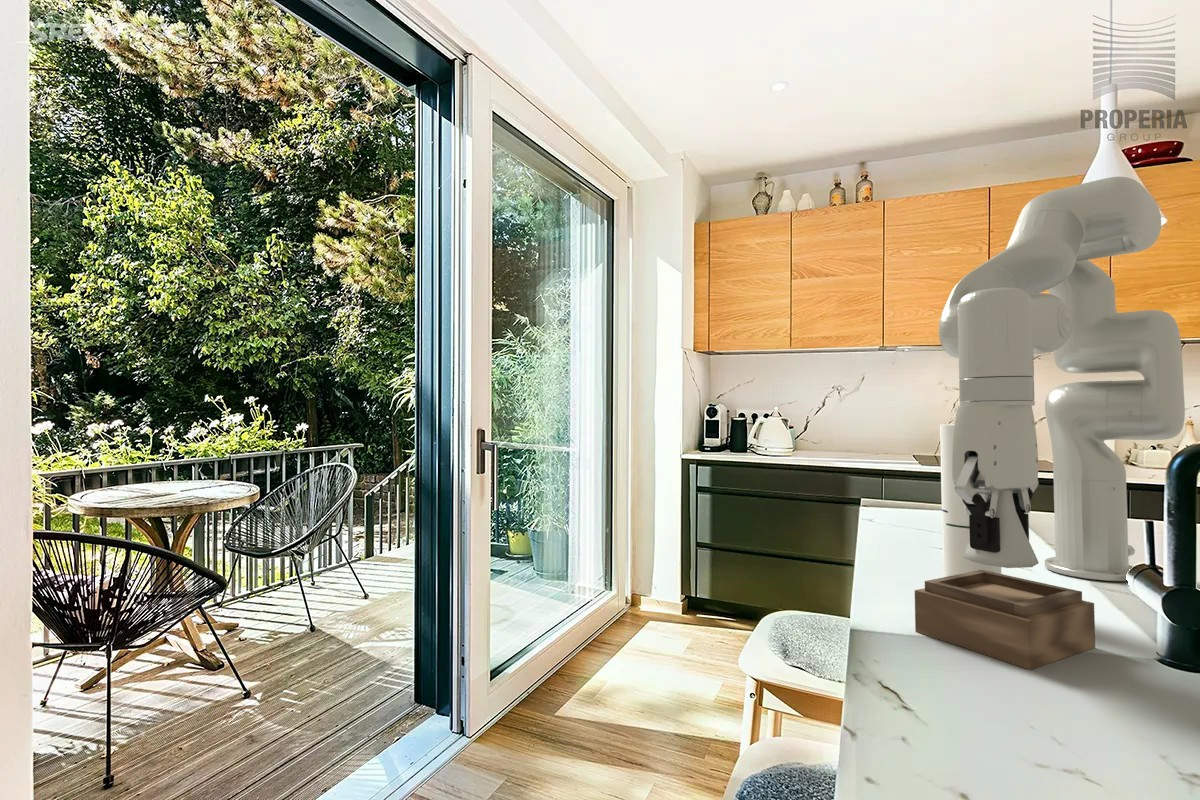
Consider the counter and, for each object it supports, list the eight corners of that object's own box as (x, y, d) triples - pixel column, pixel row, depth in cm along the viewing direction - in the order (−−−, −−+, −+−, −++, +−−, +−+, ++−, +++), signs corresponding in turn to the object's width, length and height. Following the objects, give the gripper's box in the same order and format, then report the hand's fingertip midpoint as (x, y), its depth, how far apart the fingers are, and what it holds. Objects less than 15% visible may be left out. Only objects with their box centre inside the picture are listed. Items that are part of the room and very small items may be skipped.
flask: (950, 559, 75) (948, 476, 75) (991, 553, 78) (989, 474, 78) (1010, 573, 68) (1008, 482, 69) (1052, 566, 71) (1049, 479, 71)
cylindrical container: (985, 593, 91) (981, 424, 92) (1013, 608, 84) (1008, 424, 85) (935, 592, 92) (931, 424, 93) (957, 607, 85) (953, 425, 86)
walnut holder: (980, 615, 82) (979, 567, 82) (1095, 647, 70) (1093, 592, 70) (915, 631, 76) (914, 580, 76) (1029, 669, 64) (1027, 609, 64)
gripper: (1005, 395, 81) (1009, 535, 80) (920, 394, 73) (923, 549, 73) (1070, 393, 74) (1074, 546, 74) (984, 392, 66) (988, 562, 66)
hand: (999, 546), depth 73 cm, fingers closed on flask, 4 cm apart
